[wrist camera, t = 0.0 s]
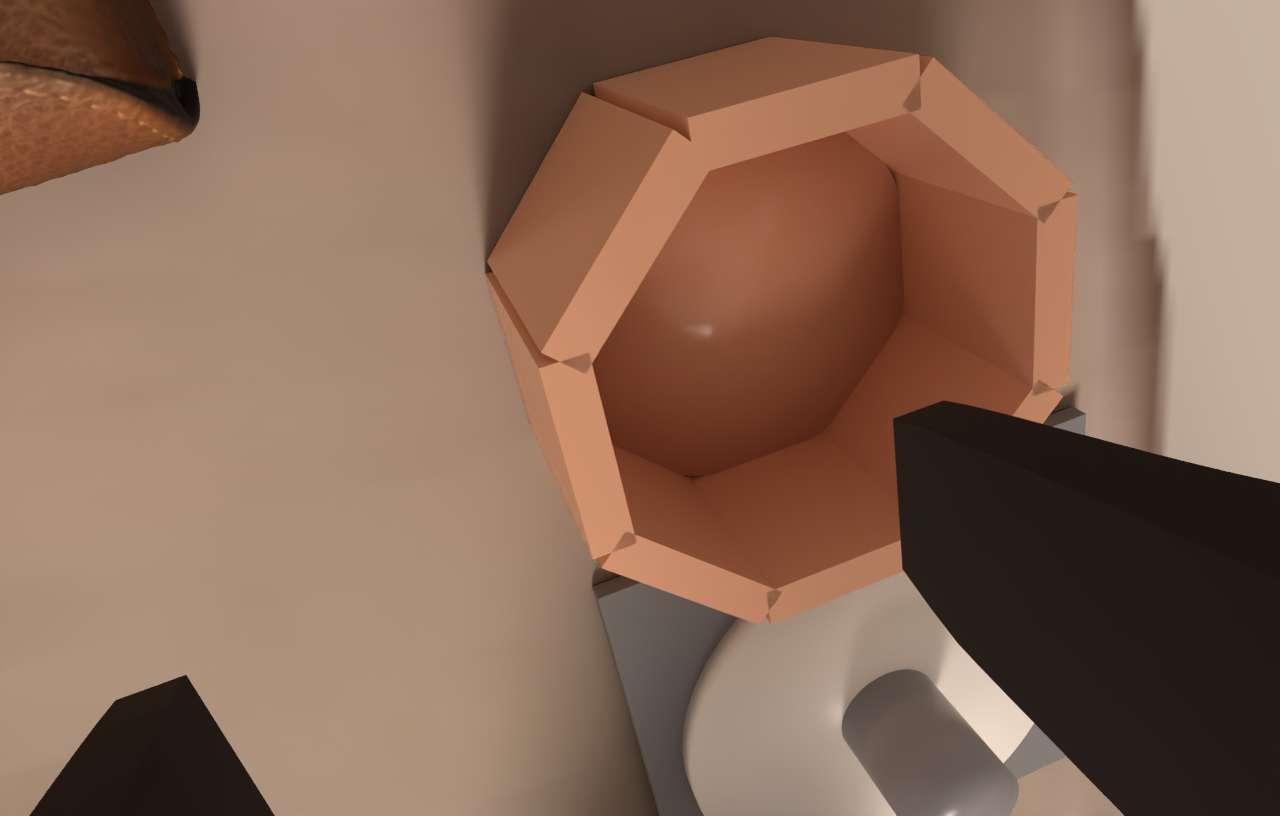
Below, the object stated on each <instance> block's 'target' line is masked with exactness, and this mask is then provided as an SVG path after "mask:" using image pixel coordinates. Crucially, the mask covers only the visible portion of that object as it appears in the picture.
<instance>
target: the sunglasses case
mask: <svg viewBox="0 0 1280 816" xmlns="http://www.w3.org/2000/svg"><path fill="white" fill-rule="evenodd" d="M179 61H180V60H179V59H178V58H177V57H176V56H175V55H174V54H173V53H172V52H171V50H170V49H169V45H168V38H167V36H166V34H165V32H164V30H163V28H162V27H161V25H160V23H159V21H158V20H157V18H156V16H155V12H154V10H153V7H152V6H151V4H150V2H149V1H148V0H0V195H2V194H5V193H8V192H12V191H16V190H19V189H22V188H25V187H29V186H36V185H39V184H41V183H43V182H46V181H48V180H51V179H54V178H59V177H63V176H66V175H68V174H72V173H77V172H79V171H82V170H84V169H87V168H90V167H93V166H96V165H101V164H105V163H108V162H111V161H115V160H117V159H119V158H122V157H124V156H126V155H129V154H133V153H137V152H140V151H143V150H146V149H149V148H152V147H156V146H161V145H166V144H168V143H171V142H179V141H180V140H181V139H183V138H185V137H187V136H188V135H190V134H191V133H192V132H193V131H194V129H195V127H196V126H197V124H198V121H199V117H200V103H199V97H198V91H197V85H196V82H194V81H192V80H191V79H190V78H186V77H185V76H184V75H183V74H182V73H181V71H180V70H179V68H178V67H179Z"/></svg>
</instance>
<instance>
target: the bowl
mask: <svg viewBox="0 0 1280 816" xmlns="http://www.w3.org/2000/svg"><path fill="white" fill-rule="evenodd" d="M593 87H594V92H595V97H593V96H591V95H589V94H586V93H584V92H582V93H581V94H580V96H579V98H578V100H577V102H576V103H575V105H574V107H573V109H572V110H571V112H570V114H569V116H568V118H567V119H566V121H565V123H564V125H563V127H562V128H561V130H560V132H559V134H558V135H557V137H556V139H555V141H554V143H553V144H552V146H551V148H550V150H549V151H548V153H547V155H546V157H545V159H544V160H543V162H542V164H541V166H540V167H539V169H538V171H537V173H536V175H535V176H534V178H533V180H532V182H531V184H530V185H529V187H528V189H527V191H526V192H525V194H524V196H523V198H522V200H521V201H520V203H519V205H518V207H517V208H516V210H515V212H514V214H513V216H512V217H511V219H510V221H509V223H508V224H507V226H506V228H505V230H504V232H503V233H502V235H501V237H500V239H499V241H498V242H497V244H496V246H495V248H494V249H493V251H492V253H491V255H490V257H489V258H488V260H487V263H488V264H489V266H490V268H491V269H492V271H493V272H490V273H487V274H486V278H487V281H488V284H489V288H490V291H491V294H492V298H493V301H494V304H495V308H496V311H497V314H498V318H499V321H500V324H501V328H502V331H503V334H504V338H505V341H506V344H507V348H508V351H509V354H510V357H511V361H512V364H513V367H514V371H515V374H516V377H517V381H518V384H519V387H520V391H521V394H522V397H523V401H524V404H525V407H526V411H527V414H528V417H529V421H530V424H531V427H532V431H533V433H534V435H535V437H536V439H537V441H538V443H539V446H540V448H541V450H542V452H543V454H544V456H545V458H546V460H547V463H548V465H549V467H550V469H551V471H552V473H553V475H554V478H555V480H556V482H557V484H558V486H559V488H560V490H561V492H562V495H563V497H564V499H565V501H566V503H567V505H568V507H569V509H570V512H571V514H572V516H573V518H574V520H575V522H576V524H577V526H578V529H579V531H580V533H581V535H582V537H583V539H584V541H585V543H586V546H587V548H588V550H589V552H590V554H591V556H592V558H593V559H596V558H597V560H598V562H599V564H600V566H601V568H602V569H605V570H608V571H611V572H614V573H616V574H619V575H622V576H625V577H627V578H630V579H633V580H636V581H639V582H641V583H644V584H647V585H650V586H652V587H655V588H658V589H661V590H664V591H666V592H669V593H672V594H675V595H677V596H680V597H683V598H686V599H689V600H691V601H694V602H697V603H700V604H702V605H705V606H708V607H711V608H713V609H716V610H719V611H722V612H725V613H727V614H730V615H733V616H736V617H738V618H741V619H744V620H747V621H750V622H752V623H755V624H758V625H760V623H761V622H762V621H763V619H764V618H765V616H766V618H767V619H768V621H769V622H770V623H771V624H773V623H776V622H778V621H781V620H783V619H786V618H788V617H791V616H793V615H796V614H798V613H801V612H803V611H806V610H808V609H811V608H813V607H816V606H818V605H821V604H823V603H826V602H828V601H831V600H833V599H836V598H838V597H841V596H843V595H846V594H848V593H851V592H853V591H856V590H858V589H861V588H863V587H866V586H868V585H871V584H873V583H876V582H878V581H881V580H883V579H886V578H888V577H891V576H893V575H896V574H898V573H901V572H903V569H902V555H901V539H900V523H899V508H898V492H897V476H896V461H895V445H894V429H893V418H896V417H899V416H902V415H904V414H907V413H910V412H913V411H915V410H918V409H921V408H924V407H926V406H929V405H932V404H935V403H938V402H940V401H943V400H944V401H950V402H955V403H961V404H966V405H970V406H975V407H979V408H983V409H987V410H991V411H996V412H999V413H1003V414H1007V415H1011V416H1015V417H1019V418H1023V419H1026V420H1030V421H1034V422H1038V423H1041V424H1043V423H1044V421H1045V420H1046V419H1047V418H1048V416H1049V415H1050V414H1051V412H1052V411H1053V410H1054V408H1055V407H1056V406H1057V404H1058V403H1059V402H1060V400H1061V399H1062V398H1063V395H1061V394H1060V393H1058V392H1057V391H1055V390H1054V389H1056V388H1058V387H1061V386H1064V385H1066V384H1068V382H1069V362H1070V342H1071V322H1072V302H1073V281H1074V261H1075V241H1076V221H1077V200H1078V194H1074V193H1071V192H1067V191H1068V190H1069V188H1070V187H1071V185H1072V184H1073V183H1074V182H1072V181H1071V180H1070V179H1069V178H1068V177H1067V176H1066V175H1065V174H1064V173H1062V172H1061V171H1060V170H1059V169H1058V168H1057V167H1056V166H1055V165H1053V164H1052V163H1051V162H1050V161H1049V160H1048V159H1047V158H1046V157H1045V156H1043V155H1042V154H1041V153H1040V152H1039V151H1038V150H1037V149H1036V148H1035V147H1033V146H1032V145H1031V144H1030V143H1029V142H1028V141H1027V140H1026V139H1024V138H1023V137H1022V136H1021V135H1020V134H1019V133H1018V132H1017V131H1016V130H1014V129H1013V128H1012V127H1011V126H1010V125H1009V124H1008V123H1007V122H1005V121H1004V120H1003V119H1002V118H1001V117H1000V116H999V115H998V114H997V113H995V112H994V111H993V110H992V109H991V108H990V107H989V106H988V105H986V104H985V103H984V102H983V101H982V100H981V99H980V98H979V97H978V96H976V95H975V94H974V93H973V92H972V91H971V90H970V89H969V88H967V87H966V86H965V85H964V84H963V83H962V82H961V81H960V80H959V79H957V78H956V77H955V76H954V75H953V74H952V73H951V72H950V71H948V70H947V69H946V68H945V67H944V66H943V65H942V64H941V63H940V62H938V61H937V60H936V59H935V58H934V57H929V56H921V55H919V54H916V53H908V52H899V51H890V50H882V49H873V48H864V47H856V46H847V45H839V44H830V43H821V42H813V41H804V40H795V39H787V38H778V37H767V38H763V39H759V40H755V41H752V42H748V43H744V44H740V45H736V46H733V47H729V48H725V49H721V50H717V51H714V52H710V53H706V54H702V55H698V56H695V57H691V58H687V59H683V60H679V61H676V62H672V63H668V64H664V65H660V66H657V67H653V68H649V69H645V70H641V71H638V72H634V73H630V74H626V75H622V76H618V77H615V78H611V79H607V80H603V81H599V82H596V83H593Z"/></svg>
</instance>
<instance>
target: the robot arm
mask: <svg viewBox="0 0 1280 816" xmlns="http://www.w3.org/2000/svg"><path fill="white" fill-rule="evenodd" d="M893 429H894V445H895V461H896V476H897V492H898V508H899V523H900V539H901V555H902V569H903V571H904V572H905V573H906V575H907V576H908V578H909V579H910V580H911V582H912V583H913V584H914V586H915V587H916V589H917V590H918V591H919V593H920V594H921V596H922V597H923V598H924V600H925V601H926V603H927V604H928V605H929V607H930V608H931V609H932V611H933V612H934V613H935V615H936V616H937V617H938V619H939V620H940V621H941V622H942V624H943V625H944V626H945V628H946V629H947V630H948V631H949V633H950V634H951V635H952V637H953V638H954V639H955V641H956V642H957V643H958V644H959V645H960V646H961V648H962V649H963V650H964V651H965V652H966V653H967V654H968V655H969V656H970V657H971V658H972V659H973V660H974V661H975V662H976V664H977V665H978V666H979V667H980V668H981V669H982V670H983V671H984V672H985V673H986V674H987V675H988V676H989V677H990V678H991V679H992V680H993V681H994V682H995V683H996V684H997V685H998V686H999V687H1000V688H1001V690H1002V691H1003V692H1004V693H1005V694H1006V695H1007V696H1008V697H1009V698H1010V699H1011V700H1012V701H1013V702H1014V703H1015V704H1016V705H1017V706H1018V707H1019V708H1020V709H1021V710H1022V711H1023V712H1024V713H1025V714H1026V715H1027V716H1028V717H1029V718H1030V719H1031V720H1032V721H1033V722H1034V723H1035V725H1036V726H1037V727H1038V728H1039V729H1040V730H1041V731H1042V732H1043V733H1044V734H1045V735H1046V736H1047V737H1048V738H1049V739H1050V740H1051V741H1052V742H1053V743H1054V744H1055V745H1056V746H1057V747H1058V748H1059V749H1060V750H1061V751H1062V752H1063V753H1064V754H1065V755H1066V756H1067V757H1068V758H1069V759H1070V760H1071V761H1072V762H1073V763H1074V764H1075V765H1076V766H1077V767H1078V768H1079V770H1080V771H1081V772H1082V773H1083V774H1084V775H1085V776H1086V777H1087V778H1088V779H1089V780H1090V781H1091V782H1092V783H1093V784H1094V785H1095V786H1096V787H1097V788H1098V789H1099V790H1100V791H1101V792H1102V793H1103V794H1104V795H1105V796H1106V797H1107V798H1108V799H1109V800H1110V801H1111V802H1112V803H1113V804H1114V805H1115V806H1116V807H1117V808H1118V809H1119V810H1120V811H1121V812H1122V814H1123V815H1124V816H1280V483H1276V482H1272V481H1267V480H1262V479H1258V478H1253V477H1249V476H1244V475H1239V474H1235V473H1231V472H1226V471H1222V470H1218V469H1213V468H1209V467H1206V466H1201V465H1197V464H1193V463H1189V462H1185V461H1181V460H1177V459H1173V458H1169V457H1165V456H1161V455H1157V454H1153V453H1150V452H1146V451H1142V450H1138V449H1134V448H1131V447H1127V446H1123V445H1119V444H1115V443H1112V442H1108V441H1104V440H1100V439H1097V438H1093V437H1089V436H1086V435H1082V434H1078V433H1075V432H1071V431H1067V430H1063V429H1060V428H1056V427H1052V426H1049V425H1045V424H1041V423H1038V422H1034V421H1030V420H1026V419H1023V418H1019V417H1015V416H1011V415H1007V414H1003V413H999V412H996V411H991V410H987V409H983V408H979V407H975V406H970V405H966V404H961V403H955V402H950V401H944V400H943V401H940V402H938V403H935V404H932V405H929V406H926V407H924V408H921V409H918V410H915V411H913V412H910V413H907V414H904V415H902V416H899V417H896V418H893ZM30 816H275V815H274V814H273V812H272V811H271V809H270V807H269V806H268V804H267V803H266V801H265V800H264V798H263V796H262V795H261V793H260V792H259V790H258V788H257V787H256V785H255V784H254V782H253V780H252V779H251V777H250V776H249V774H248V773H247V771H246V769H245V768H244V766H243V765H242V763H241V761H240V760H239V758H238V757H237V755H236V753H235V752H234V750H233V749H232V747H231V745H230V744H229V742H228V741H227V739H226V738H225V736H224V734H223V733H222V731H221V730H220V728H219V726H218V725H217V723H216V722H215V720H214V718H213V717H212V715H211V714H210V712H209V711H208V709H207V707H206V706H205V704H204V703H203V701H202V699H201V698H200V696H199V695H198V693H197V691H196V690H195V688H194V687H193V685H192V684H191V682H190V680H189V679H188V677H187V676H186V675H184V676H182V677H179V678H176V679H173V680H171V681H168V682H165V683H162V684H160V685H157V686H154V687H151V688H149V689H146V690H143V691H140V692H138V693H135V694H132V695H129V696H127V697H124V698H121V699H118V700H116V701H115V702H114V703H113V704H112V705H111V707H110V708H109V709H108V710H107V712H106V713H105V714H104V715H103V717H102V718H101V719H100V720H99V722H98V723H97V724H96V725H95V727H94V728H93V729H92V731H91V732H90V733H89V735H88V736H87V737H86V739H85V740H84V741H83V743H82V744H81V745H80V747H79V748H78V749H77V751H76V752H75V754H74V755H73V756H72V758H71V759H70V760H69V762H68V763H67V764H66V766H65V767H64V769H63V770H62V771H61V773H60V774H59V775H58V777H57V778H56V780H55V781H54V782H53V784H52V785H51V787H50V788H49V789H48V791H47V792H46V793H45V795H44V796H43V798H42V799H41V800H40V802H39V803H38V805H37V806H36V807H35V809H34V810H33V811H32V813H31V814H30Z"/></svg>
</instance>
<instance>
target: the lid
mask: <svg viewBox="0 0 1280 816" xmlns="http://www.w3.org/2000/svg"><path fill="white" fill-rule="evenodd" d="M1033 724H1034V722H1033V721H1032V720H1031V719H1030V718H1029V717H1028V716H1027V715H1026V714H1025V713H1024V712H1023V711H1022V710H1021V709H1020V708H1019V707H1018V706H1017V705H1016V704H1015V703H1014V702H1013V701H1012V700H1011V699H1010V698H1009V697H1008V696H1007V695H1006V694H1005V693H1004V692H1003V691H1002V690H1001V688H1000V687H999V686H998V685H997V684H996V683H995V682H994V681H993V680H992V679H991V678H990V677H989V676H988V675H987V674H986V673H985V672H984V671H983V670H982V669H981V668H980V667H979V666H978V665H977V664H976V662H975V661H974V660H973V659H972V658H971V657H970V656H969V655H968V654H967V653H966V652H965V651H964V650H963V649H962V648H961V646H960V645H959V644H958V643H957V642H956V641H955V639H954V638H953V637H952V635H951V634H950V633H949V631H948V630H947V629H946V628H945V626H944V625H943V624H942V622H941V621H940V620H939V619H938V617H937V616H936V615H935V613H934V612H933V611H932V609H931V608H930V607H929V605H928V604H927V603H926V601H925V600H924V598H923V597H922V596H921V594H920V593H919V591H918V590H917V589H916V587H915V586H914V584H913V583H912V582H911V580H910V579H909V578H908V576H907V575H906V573H905V572H904V571H903V572H901V573H898V574H896V575H893V576H891V577H888V578H886V579H883V580H881V581H878V582H876V583H873V584H871V585H868V586H866V587H863V588H861V589H858V590H856V591H853V592H851V593H848V594H846V595H843V596H841V597H838V598H836V599H833V600H831V601H828V602H826V603H823V604H821V605H818V606H816V607H813V608H811V609H808V610H806V611H803V612H801V613H798V614H796V615H793V616H791V617H788V618H786V619H783V620H781V621H778V622H776V623H773V624H771V623H770V622H769V621H768V619H767V618H766V616H765V618H764V619H763V621H762V622H761V623H760V625H758V624H755V623H752V622H750V621H747V620H744V619H741V618H737V619H736V621H735V622H734V623H733V624H732V626H731V627H730V628H729V630H728V631H727V632H726V633H725V635H724V636H723V637H722V639H721V640H720V641H719V643H718V644H717V646H716V648H715V649H714V651H713V652H712V654H711V656H710V657H709V659H708V660H707V662H706V664H705V666H704V668H703V670H702V672H701V674H700V676H699V678H698V681H697V683H696V685H695V687H694V690H693V693H692V696H691V699H690V702H689V705H688V708H687V711H686V717H685V723H684V728H683V746H682V754H683V761H684V767H685V773H686V776H687V778H688V781H689V784H690V787H691V789H692V792H693V794H694V796H695V798H696V801H697V803H698V805H699V807H700V809H701V811H702V813H703V815H704V816H1009V815H1010V813H1011V812H1012V810H1013V808H1014V806H1015V803H1016V801H1017V797H1018V791H1019V789H1018V782H1017V780H1016V778H1015V776H1014V775H1013V774H1012V773H1011V772H1010V771H1009V769H1008V768H1007V767H1006V766H1005V765H1004V764H1003V763H1004V762H1005V761H1006V760H1007V759H1008V758H1009V757H1010V755H1011V754H1012V753H1013V752H1014V751H1015V749H1016V748H1017V747H1018V745H1019V744H1020V743H1021V741H1022V740H1023V739H1024V737H1025V736H1026V735H1027V733H1028V732H1029V730H1030V729H1031V727H1032V726H1033Z"/></svg>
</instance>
